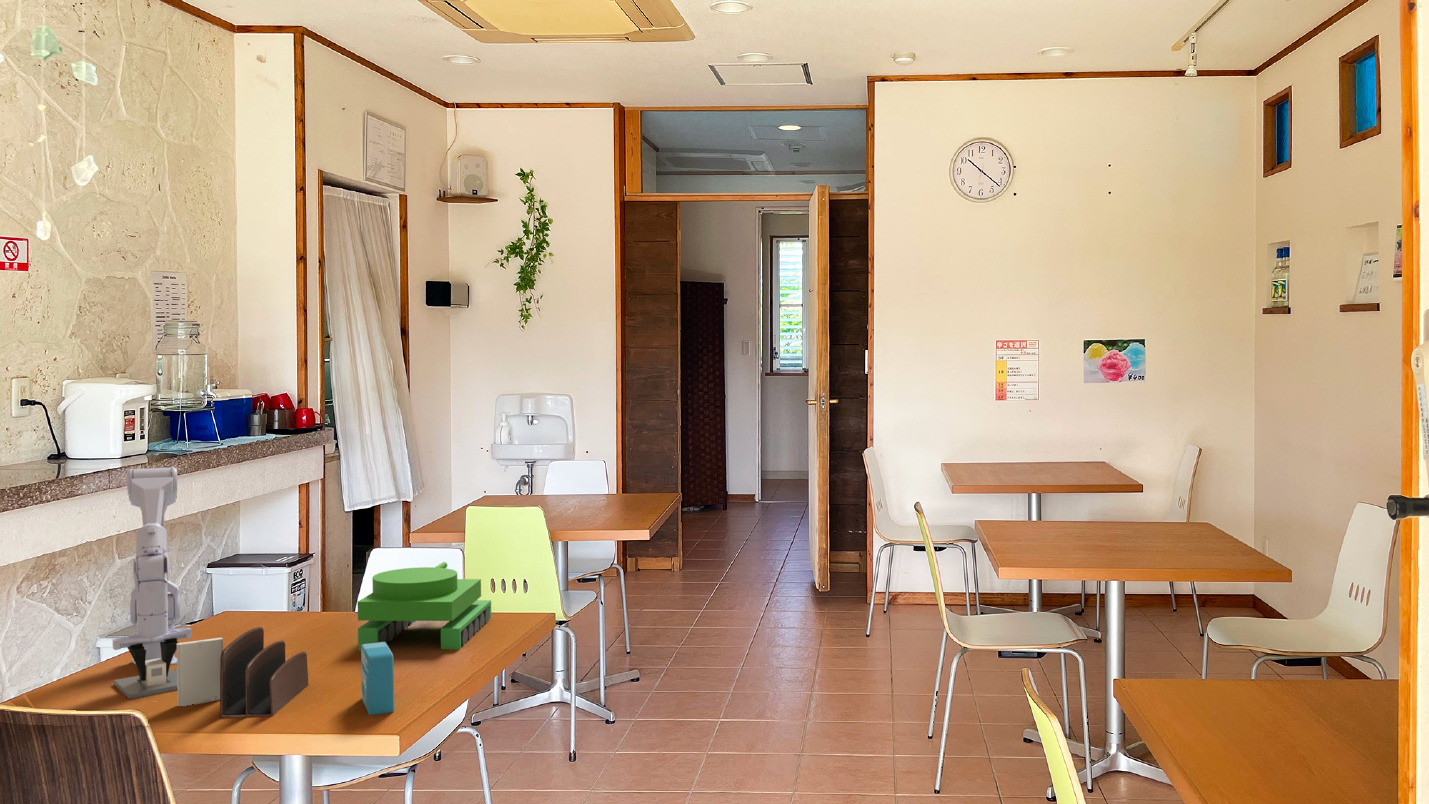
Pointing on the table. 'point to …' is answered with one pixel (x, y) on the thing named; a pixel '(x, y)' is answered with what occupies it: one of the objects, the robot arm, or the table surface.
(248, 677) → the letter holder
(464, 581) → the tank
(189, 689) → the external hard drive
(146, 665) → the plug
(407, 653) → the table surface
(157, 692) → the jack panel
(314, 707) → the table surface
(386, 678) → the data package
